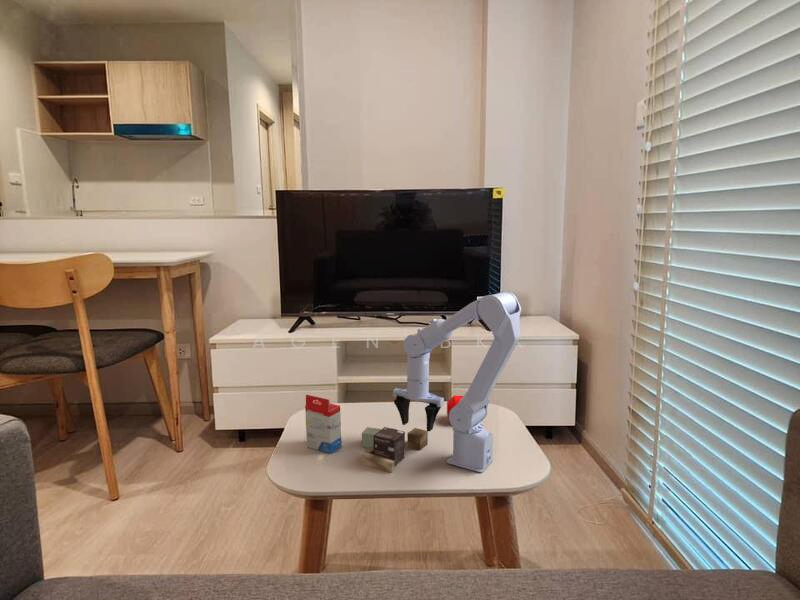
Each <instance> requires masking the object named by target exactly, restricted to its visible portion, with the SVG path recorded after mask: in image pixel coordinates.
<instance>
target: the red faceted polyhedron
mask: <svg viewBox="0 0 800 600" xmlns="http://www.w3.org/2000/svg"><path fill="white" fill-rule="evenodd" d="M463 396H464V395H453V396H451V398H450V399H449V400H448V401H446V415H447V419H449V412H450V410H451V409H452V408H454V407H455V406H457V405H458V403H459V401H460V400H461V398H462V397H463Z"/></svg>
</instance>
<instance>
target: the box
mask: <svg viewBox="0 0 800 600" xmlns="http://www.w3.org/2000/svg"><path fill="white" fill-rule="evenodd" d="M380 429H381V430H380V431H379V432H377V433H376V434H375V435H373V436H374V440H373V455H376V456H379V457H383V458H386V459H389V460H393V461H394V468H396V467H397V465H398V464H400V462H402V461H403V460H404V459H405V452H406V450H405V446H406V445H405V441H406V440H405V439H406V432H405V431H403V430H399V429H397V428H390V427H386V426H384V427H383V428H380Z"/></svg>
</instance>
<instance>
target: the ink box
mask: <svg viewBox="0 0 800 600" xmlns="http://www.w3.org/2000/svg"><path fill="white" fill-rule="evenodd" d="M304 409H305V410H304V411H305V429H306V430H305V432H306V433H305V434H306V435H305V437H306V439H305V440H306V447H307V448H310V449H313V450H316V451H321V452H324V453H327V454H332V453H334V452H336V451H337V450H338V449H340V448H341V447H342V424H341V423H342V422H341V419H342V418H341V405H339V404H334V403H330V399H328V398H323V397H318V396H314V395H310V394H305V405H304Z"/></svg>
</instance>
